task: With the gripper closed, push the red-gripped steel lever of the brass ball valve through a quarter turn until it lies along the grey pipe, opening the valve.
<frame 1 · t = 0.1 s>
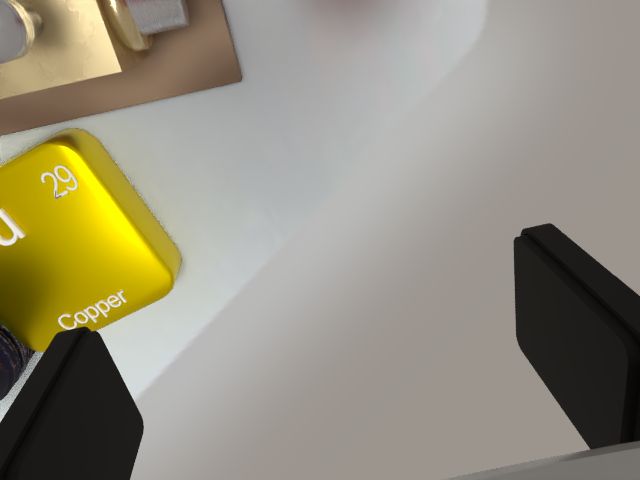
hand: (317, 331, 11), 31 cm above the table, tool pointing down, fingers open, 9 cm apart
element tile: (69, 233, 43), on the table
valve board: (80, 16, 35), on the table
ball valve: (43, 21, 30), on the valve board, point 6 cm above the table
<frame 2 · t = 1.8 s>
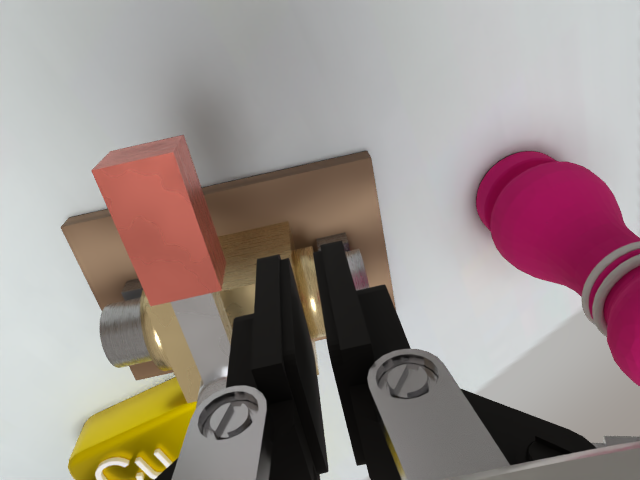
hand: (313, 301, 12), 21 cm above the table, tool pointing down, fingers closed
valve lever: (197, 303, 22), point 12 cm above the table, hinge at 0.0°
element tile: (202, 439, 44), on the table
valve board: (244, 268, 36), on the table
ball valve: (238, 322, 30), on the valve board, point 6 cm above the table
pepper mill: (517, 192, 35), on the table
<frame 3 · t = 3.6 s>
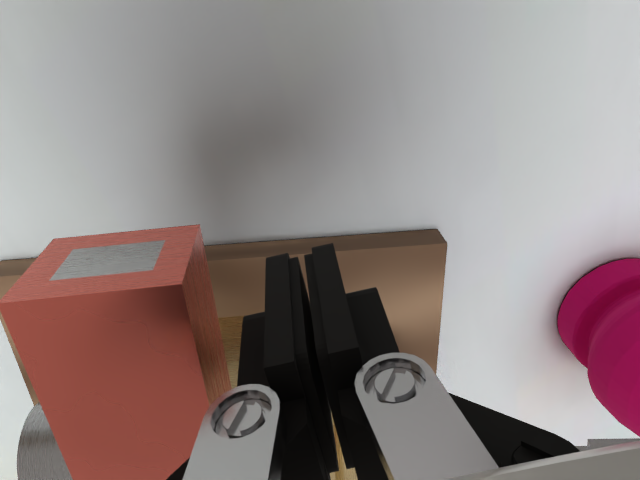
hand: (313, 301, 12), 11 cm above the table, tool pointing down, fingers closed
valve board: (240, 355, 26), on the table
ball valve: (231, 459, 20), on the valve board, point 6 cm above the table
pepper mill: (610, 306, 27), on the table
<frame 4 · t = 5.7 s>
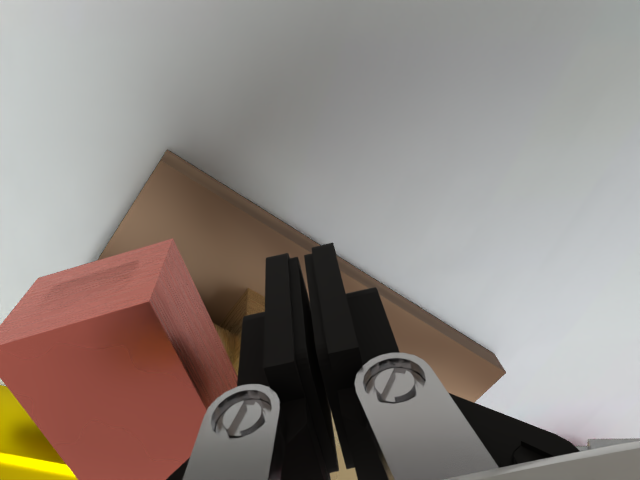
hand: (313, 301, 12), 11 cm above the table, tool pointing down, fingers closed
valve board: (276, 356, 26), on the table
ball valve: (280, 460, 20), on the valve board, point 6 cm above the table
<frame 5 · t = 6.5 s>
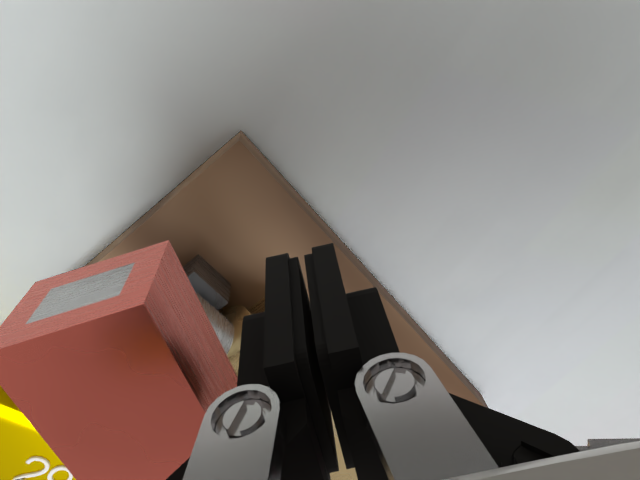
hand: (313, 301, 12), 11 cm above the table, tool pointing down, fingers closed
valve board: (280, 355, 26), on the table
ball valve: (284, 459, 20), on the valve board, point 6 cm above the table
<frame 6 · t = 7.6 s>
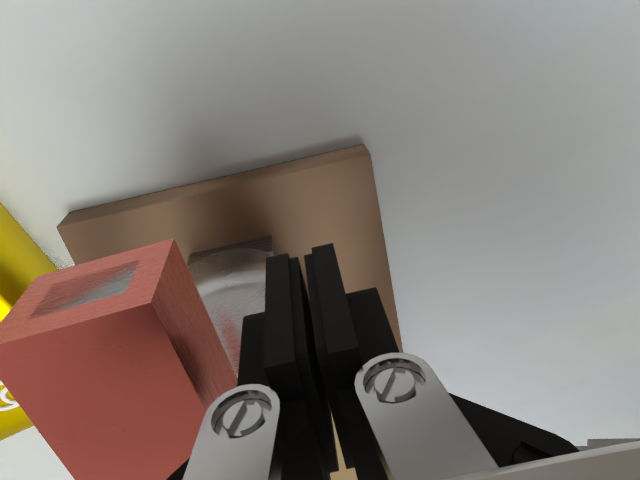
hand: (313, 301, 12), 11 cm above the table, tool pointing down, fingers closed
valve board: (273, 355, 26), on the table
ball valve: (275, 459, 20), on the valve board, point 6 cm above the table
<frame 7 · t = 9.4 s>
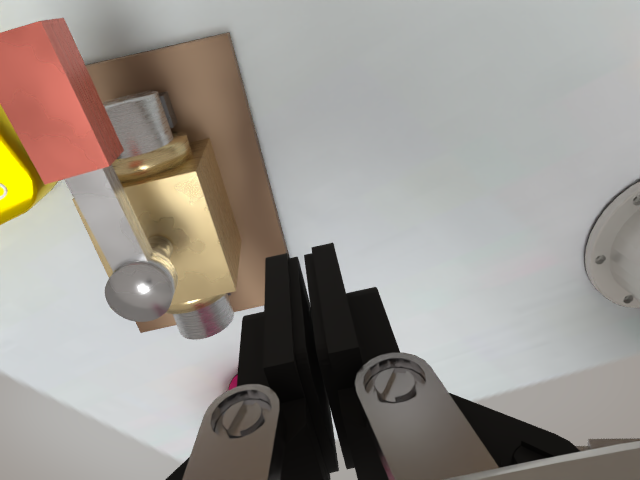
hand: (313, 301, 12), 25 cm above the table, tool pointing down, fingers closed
valve lever: (96, 187, 23), point 12 cm above the table, hinge at 93.0°
valve board: (181, 195, 37), on the table
ball valve: (165, 233, 31), on the valve board, point 6 cm above the table
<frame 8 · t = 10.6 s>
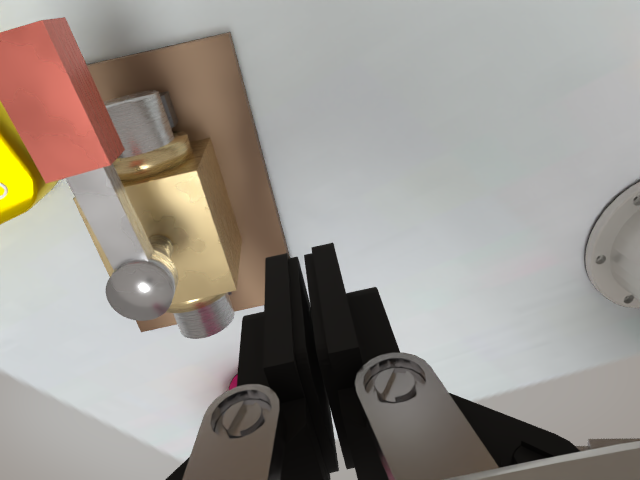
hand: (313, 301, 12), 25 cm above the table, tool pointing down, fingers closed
valve lever: (97, 186, 23), point 12 cm above the table, hinge at 93.0°
valve board: (182, 194, 37), on the table
ball valve: (166, 232, 31), on the valve board, point 6 cm above the table
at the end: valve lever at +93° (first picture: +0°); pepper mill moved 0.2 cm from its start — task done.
